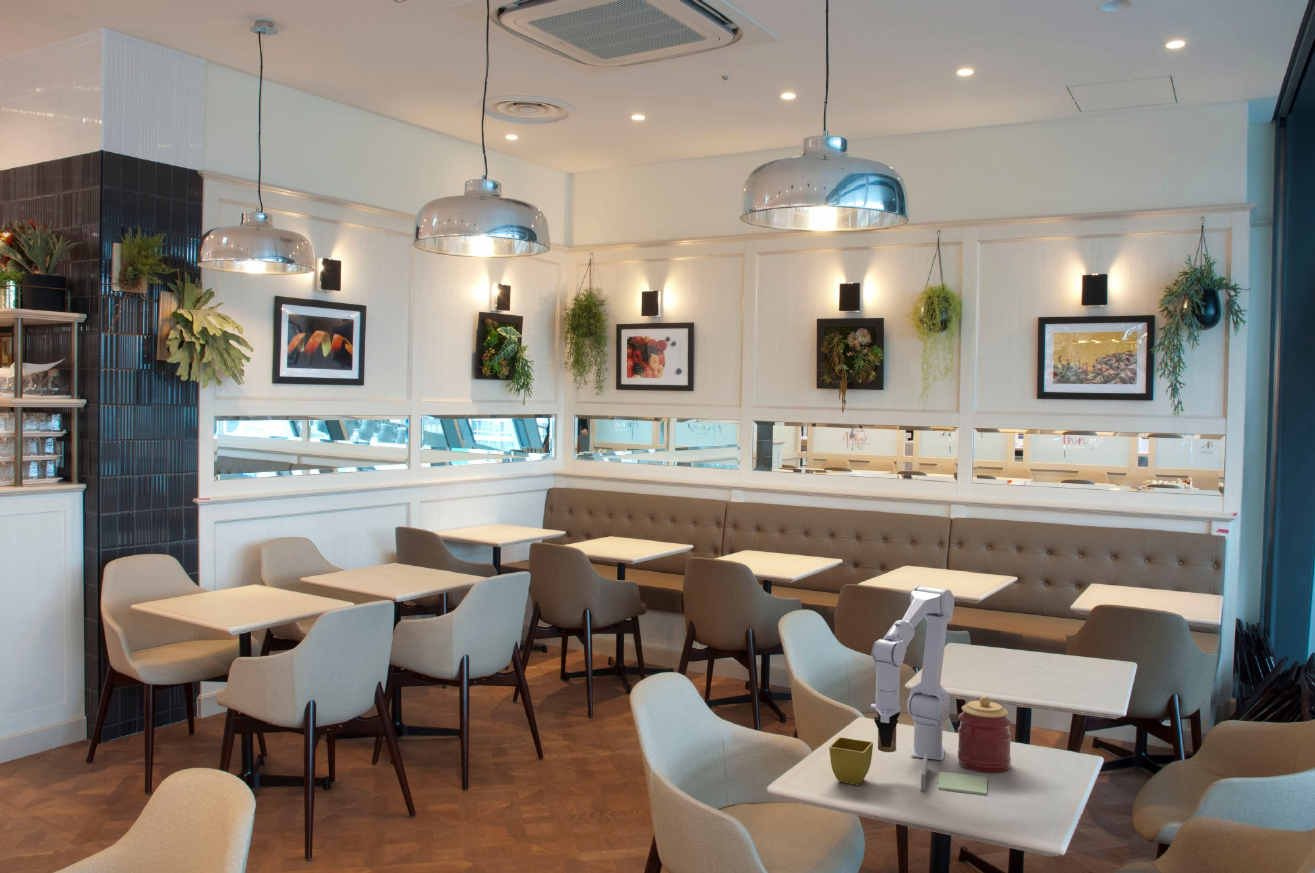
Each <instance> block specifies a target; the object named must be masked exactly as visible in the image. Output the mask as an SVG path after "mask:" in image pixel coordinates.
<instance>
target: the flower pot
mask: <svg viewBox="0 0 1315 873" xmlns="http://www.w3.org/2000/svg"><path fill="white" fill-rule="evenodd" d="M828 748H829V758H830V764H831V765H830V766H831V769H832V772H833V774H834V776H835V778H836V779H837V781H838V782H839V781H841V782H840V783H844V782H845V783H844V784H850V783H852V784H851V785H855V784H856V786H858V785H859V786H860V784H861V783H862V782H863V780H865V777H867V774H868V773H869V770H870V767H871V764H872V758H873V748H874V742H873V741H869V740H868V741H867V740H861V739H854V738H848V737H842V736H838V737H837V739H835V740H834V742H832V743H831V744H830V745H829V746H828Z"/></svg>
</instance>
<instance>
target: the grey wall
mask: <svg viewBox="0 0 1315 873" xmlns="http://www.w3.org/2000/svg"><path fill="white" fill-rule="evenodd" d="M922 759H923V760H922V765H921V766H922V767H921V773H920V791H921V792H925V789H926V784H927V783H926V782H927V775H928V765H929V764H928V753H924V758H922Z"/></svg>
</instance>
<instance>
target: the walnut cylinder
mask: <svg viewBox="0 0 1315 873" xmlns="http://www.w3.org/2000/svg"><path fill="white" fill-rule="evenodd" d="M877 750H878V751H880V752H882V753H883V752H884V753H894V752H896V751H897V726H896V727H895V729H894V732H893V738H892V743H891V747H882V745H881V741H880V735H879V731H878V730H877Z"/></svg>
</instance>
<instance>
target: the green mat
mask: <svg viewBox="0 0 1315 873" xmlns="http://www.w3.org/2000/svg"><path fill="white" fill-rule="evenodd" d="M987 785H988V782H987V776H982V775H981V776H980V775H971V774H964V773H955V772H947V771H939V780H938V786H937V787H938V790H940V789H943V790H942V791H948V790H949V791H950V792H957V793H958V792H959V793H966V794H973V795H982V796H988V786H987Z"/></svg>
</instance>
